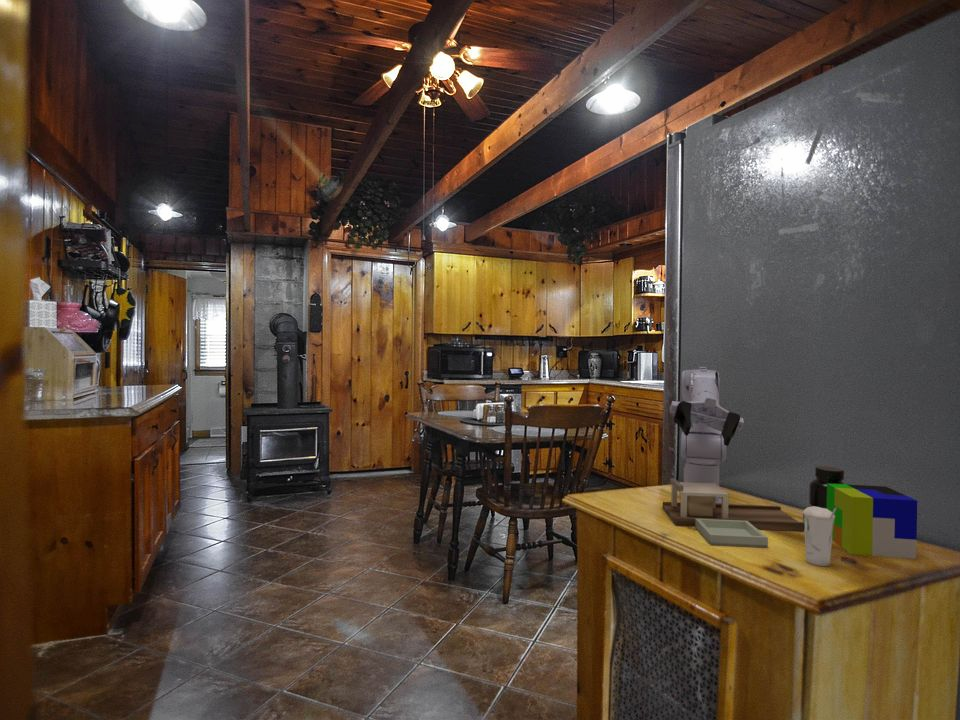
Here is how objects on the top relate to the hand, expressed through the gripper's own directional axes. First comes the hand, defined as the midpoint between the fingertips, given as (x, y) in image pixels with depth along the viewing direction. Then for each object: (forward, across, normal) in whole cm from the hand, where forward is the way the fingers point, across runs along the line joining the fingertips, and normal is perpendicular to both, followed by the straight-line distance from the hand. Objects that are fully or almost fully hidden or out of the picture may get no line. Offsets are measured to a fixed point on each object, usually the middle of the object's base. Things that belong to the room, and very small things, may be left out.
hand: (707, 436), depth 108 cm
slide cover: (+2, +3, +17) cm, 18 cm away
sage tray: (+12, +7, +13) cm, 19 cm away
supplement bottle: (0, +27, +14) cm, 30 cm away
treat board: (+1, +9, +17) cm, 20 cm away
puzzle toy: (+8, +30, +9) cm, 33 cm away
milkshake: (+20, +19, +6) cm, 28 cm away
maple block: (+2, +3, +17) cm, 18 cm away
